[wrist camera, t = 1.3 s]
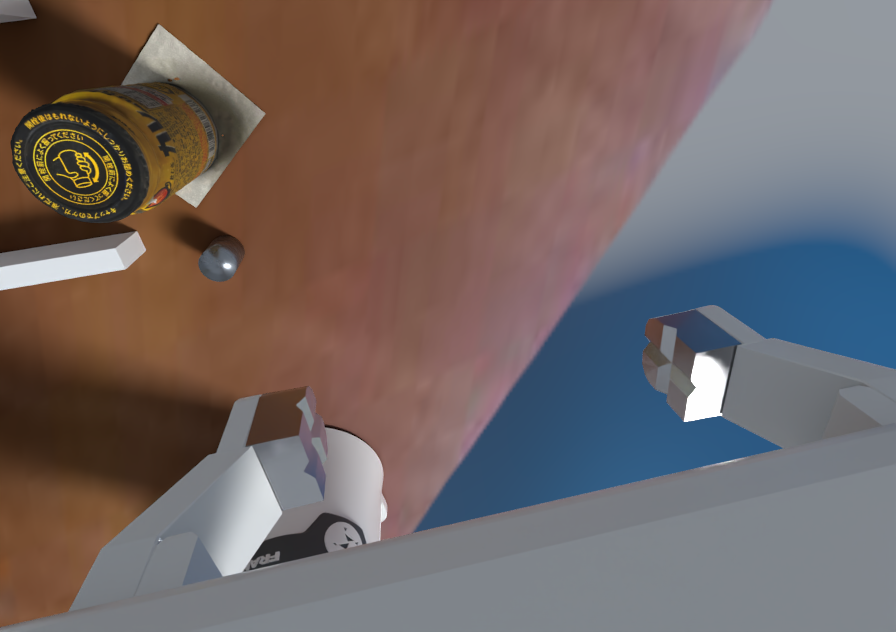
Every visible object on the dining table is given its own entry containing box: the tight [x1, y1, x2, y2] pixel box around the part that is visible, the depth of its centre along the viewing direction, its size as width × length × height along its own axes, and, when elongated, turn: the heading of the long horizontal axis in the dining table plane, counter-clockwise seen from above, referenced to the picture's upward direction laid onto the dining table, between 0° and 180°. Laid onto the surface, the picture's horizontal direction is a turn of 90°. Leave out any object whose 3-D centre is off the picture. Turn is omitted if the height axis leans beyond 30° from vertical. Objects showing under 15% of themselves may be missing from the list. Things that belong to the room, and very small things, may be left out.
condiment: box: [11, 25, 265, 223], centre depth 26 cm, size 7×8×12 cm
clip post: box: [199, 235, 245, 282], centre depth 34 cm, size 2×2×3 cm
